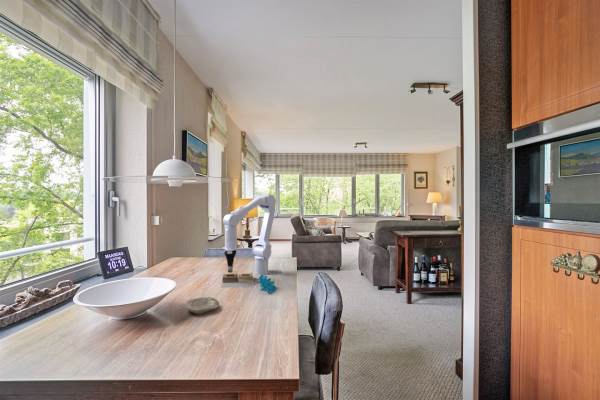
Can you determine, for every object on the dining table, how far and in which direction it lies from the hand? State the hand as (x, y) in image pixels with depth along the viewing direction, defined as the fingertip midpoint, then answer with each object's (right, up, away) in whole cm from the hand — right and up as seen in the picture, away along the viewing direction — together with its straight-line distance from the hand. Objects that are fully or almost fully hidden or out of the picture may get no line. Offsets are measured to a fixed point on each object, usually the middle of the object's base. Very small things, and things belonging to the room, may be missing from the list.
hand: (230, 265), depth 149 cm
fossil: (-2, -9, -37) cm, 38 cm away
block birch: (+7, -7, +1) cm, 10 cm away
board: (+4, -8, -2) cm, 10 cm away
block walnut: (0, -7, 0) cm, 7 cm away
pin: (0, -3, 0) cm, 3 cm away
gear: (+20, -9, -15) cm, 27 cm away
